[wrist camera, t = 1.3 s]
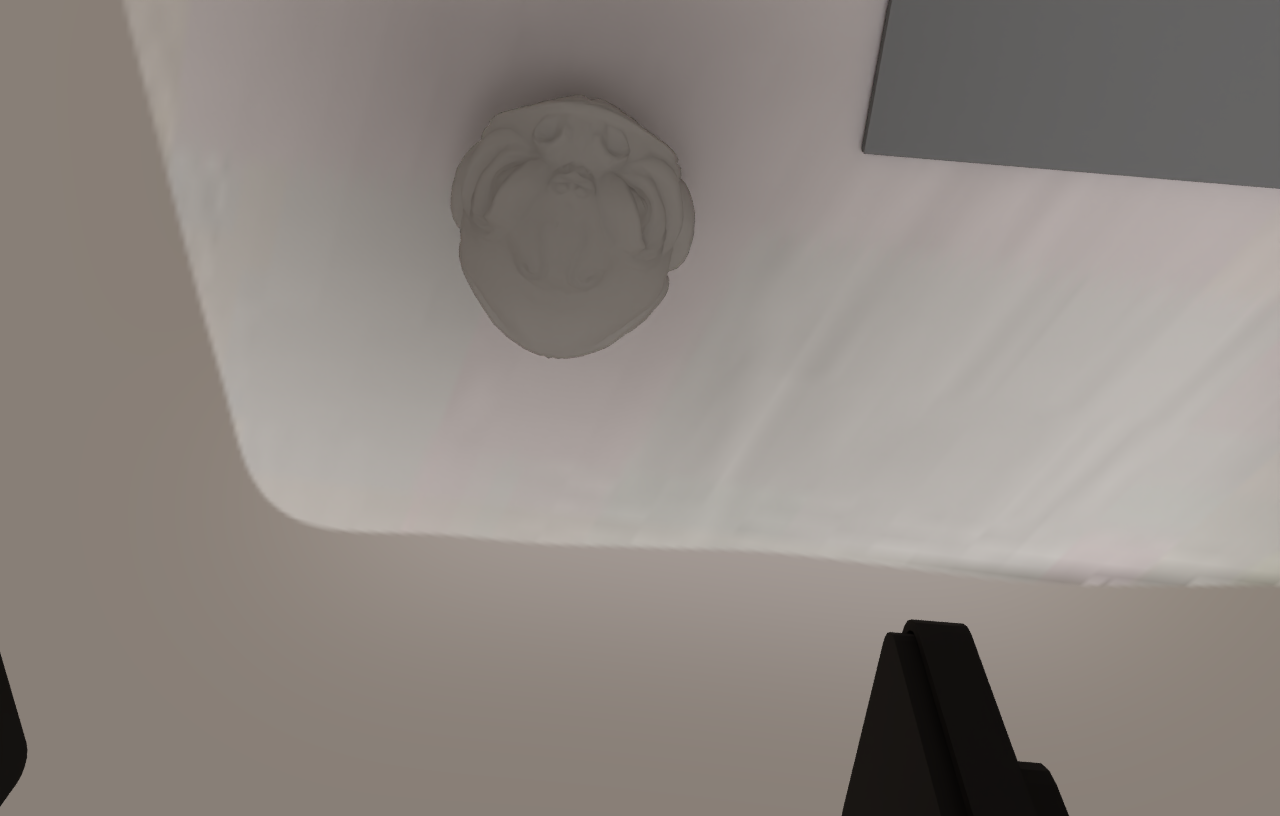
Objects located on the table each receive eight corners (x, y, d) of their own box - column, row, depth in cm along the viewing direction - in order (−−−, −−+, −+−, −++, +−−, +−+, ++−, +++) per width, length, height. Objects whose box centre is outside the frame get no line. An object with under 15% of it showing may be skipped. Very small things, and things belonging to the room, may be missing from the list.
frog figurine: (718, 75, 27) (727, 150, 21) (665, 311, 31) (660, 434, 25) (491, 27, 27) (433, 91, 21) (463, 273, 30) (407, 387, 24)
